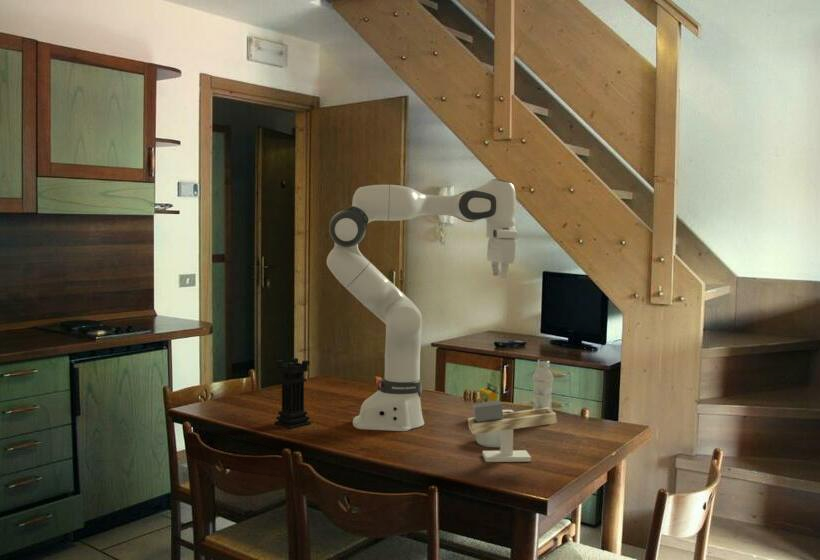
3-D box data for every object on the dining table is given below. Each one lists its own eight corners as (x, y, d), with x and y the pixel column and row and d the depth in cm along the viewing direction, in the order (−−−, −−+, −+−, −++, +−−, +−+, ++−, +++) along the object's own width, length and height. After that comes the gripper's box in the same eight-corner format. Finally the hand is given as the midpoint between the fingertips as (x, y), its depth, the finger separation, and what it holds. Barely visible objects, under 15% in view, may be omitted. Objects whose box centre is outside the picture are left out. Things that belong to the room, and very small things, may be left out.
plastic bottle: (552, 425, 236) (554, 363, 235) (531, 424, 237) (532, 361, 236) (553, 420, 242) (554, 359, 241) (531, 419, 244) (533, 358, 242)
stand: (486, 461, 199) (487, 413, 198) (482, 455, 205) (483, 408, 204) (530, 461, 200) (532, 413, 199) (525, 454, 206) (526, 407, 205)
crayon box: (478, 418, 244) (479, 383, 244) (487, 417, 245) (487, 382, 245) (488, 423, 238) (489, 387, 237) (497, 423, 239) (497, 387, 238)
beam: (472, 434, 192) (471, 424, 192) (468, 426, 199) (467, 416, 199) (556, 422, 193) (555, 412, 193) (549, 415, 201) (548, 405, 200)
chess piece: (274, 424, 234) (274, 360, 232) (294, 419, 240) (295, 357, 238) (290, 429, 228) (290, 364, 227) (311, 424, 234) (311, 361, 233)
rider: (477, 426, 193) (474, 407, 193) (474, 422, 197) (472, 403, 197) (503, 422, 194) (501, 404, 193) (500, 418, 198) (498, 400, 197)
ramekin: (520, 445, 215) (520, 427, 214) (489, 451, 209) (490, 432, 208) (495, 435, 224) (495, 418, 224) (465, 441, 218) (465, 423, 218)
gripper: (483, 231, 242) (481, 274, 243) (498, 232, 222) (497, 279, 223) (502, 232, 243) (500, 274, 244) (519, 232, 223) (518, 279, 224)
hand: (499, 276), depth 233 cm, fingers open, 8 cm apart
